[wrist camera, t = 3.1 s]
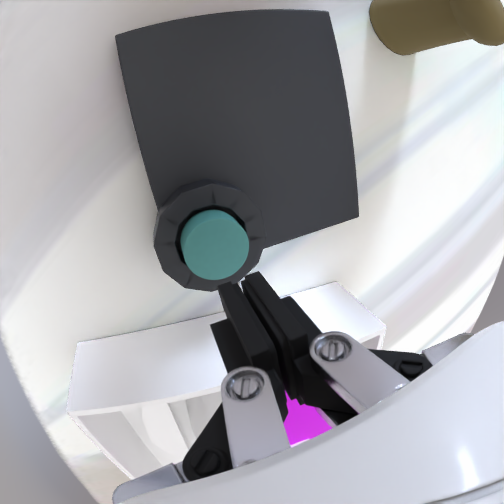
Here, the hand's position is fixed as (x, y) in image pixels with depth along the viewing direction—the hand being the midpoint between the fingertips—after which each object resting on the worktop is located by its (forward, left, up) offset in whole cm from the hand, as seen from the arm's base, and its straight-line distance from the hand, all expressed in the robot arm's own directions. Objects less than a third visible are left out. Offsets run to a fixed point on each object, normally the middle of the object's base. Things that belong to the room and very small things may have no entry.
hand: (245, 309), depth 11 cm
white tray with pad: (+24, -3, -10) cm, 26 cm away
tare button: (0, 0, -7) cm, 7 cm away
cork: (-14, +20, -10) cm, 26 cm away
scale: (-6, +5, -10) cm, 12 cm away
